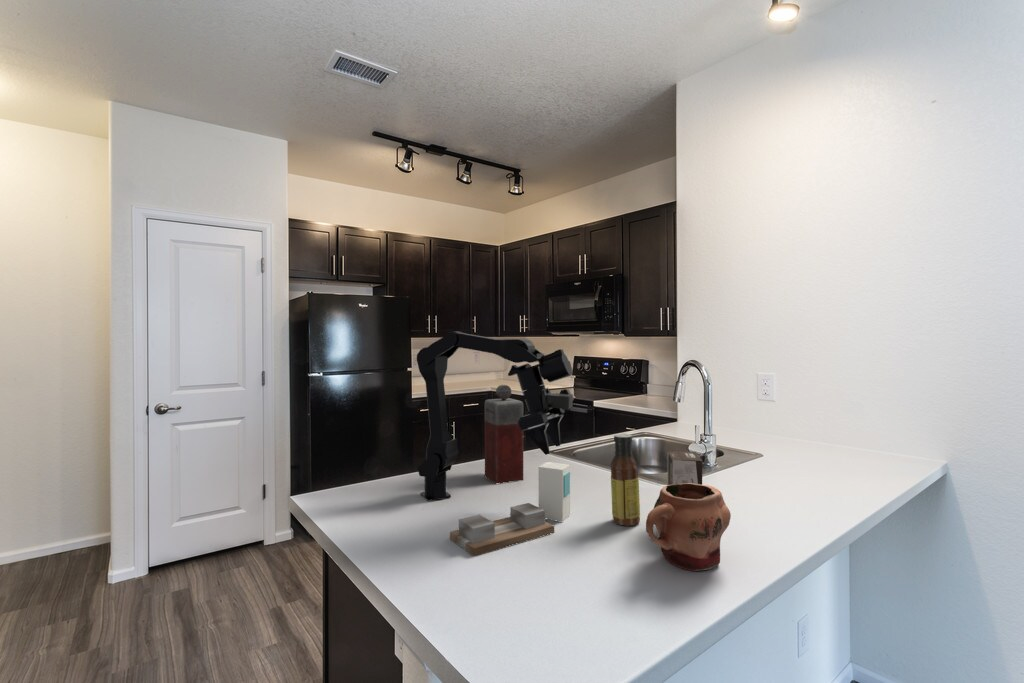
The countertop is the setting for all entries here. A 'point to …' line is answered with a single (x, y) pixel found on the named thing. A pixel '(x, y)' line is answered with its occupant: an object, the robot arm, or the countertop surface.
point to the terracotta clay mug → (689, 525)
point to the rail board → (501, 529)
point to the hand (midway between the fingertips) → (553, 449)
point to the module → (554, 490)
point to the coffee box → (684, 468)
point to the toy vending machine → (503, 437)
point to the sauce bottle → (625, 483)
